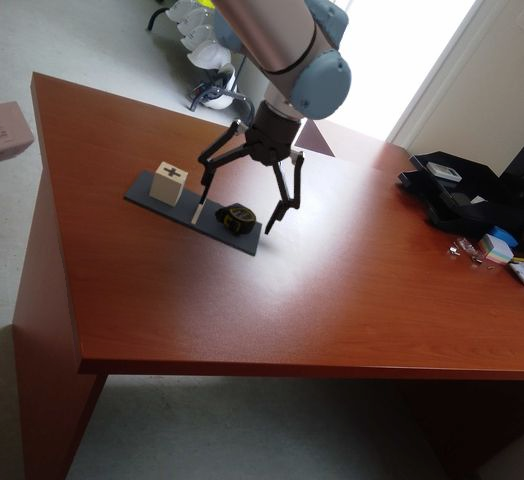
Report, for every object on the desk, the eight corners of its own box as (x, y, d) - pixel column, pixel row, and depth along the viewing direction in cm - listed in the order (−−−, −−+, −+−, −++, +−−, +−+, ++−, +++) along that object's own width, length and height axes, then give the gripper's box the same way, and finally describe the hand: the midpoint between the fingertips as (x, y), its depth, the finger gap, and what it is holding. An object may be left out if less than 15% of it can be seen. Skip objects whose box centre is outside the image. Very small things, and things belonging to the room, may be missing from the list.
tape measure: (232, 213, 94) (239, 198, 91) (256, 234, 92) (264, 218, 90) (211, 220, 89) (217, 204, 86) (237, 242, 87) (244, 226, 85)
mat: (123, 198, 82) (124, 195, 82) (143, 171, 91) (143, 168, 90) (254, 256, 88) (255, 253, 87) (261, 226, 96) (262, 223, 96)
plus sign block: (148, 195, 85) (155, 171, 82) (156, 184, 89) (163, 160, 85) (174, 207, 86) (181, 183, 83) (180, 195, 90) (188, 172, 86)
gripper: (207, 77, 69) (169, 197, 83) (349, 153, 75) (291, 253, 89) (216, 66, 75) (179, 179, 89) (348, 137, 80) (293, 233, 94)
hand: (234, 216), depth 89 cm, fingers open, 13 cm apart
